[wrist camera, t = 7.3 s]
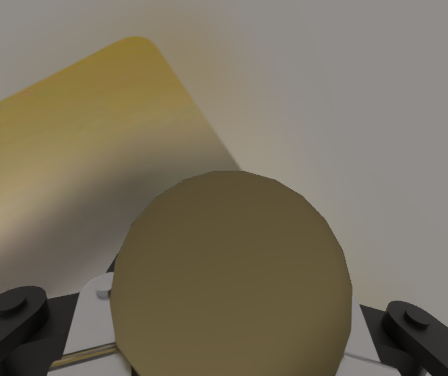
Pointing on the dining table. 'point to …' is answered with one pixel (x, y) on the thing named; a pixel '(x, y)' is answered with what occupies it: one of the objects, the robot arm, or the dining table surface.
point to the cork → (231, 283)
